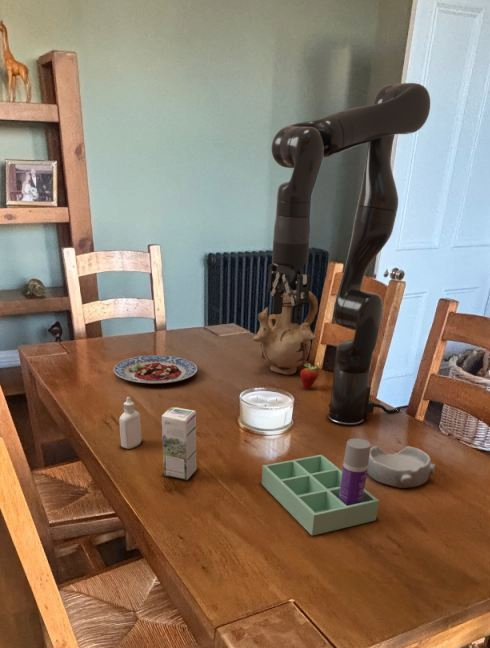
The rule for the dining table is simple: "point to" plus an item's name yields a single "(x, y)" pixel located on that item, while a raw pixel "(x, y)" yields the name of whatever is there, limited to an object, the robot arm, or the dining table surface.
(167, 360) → the ceramic plate
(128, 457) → the dining table surface
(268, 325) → the ceramic vessel
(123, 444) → the eye dropper bottle
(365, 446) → the container
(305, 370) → the fruit
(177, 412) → the syrup box
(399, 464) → the dish
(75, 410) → the dining table surface
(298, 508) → the rack
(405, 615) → the dining table surface
